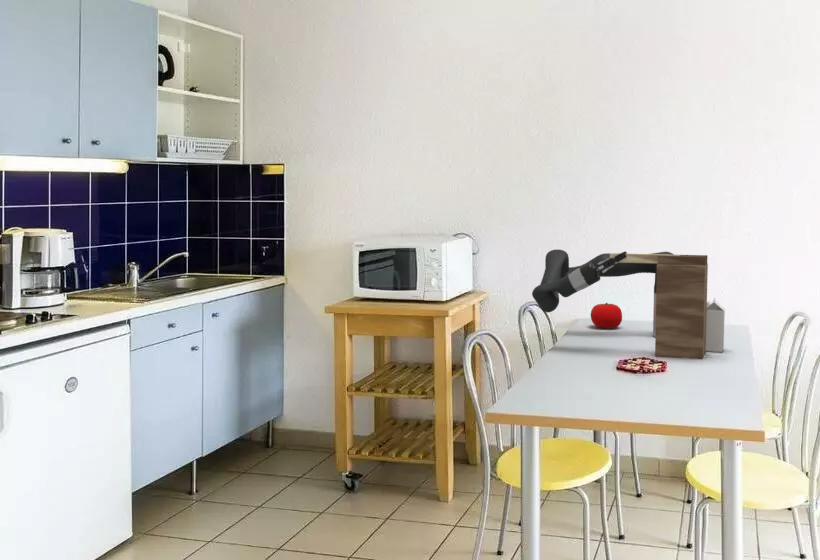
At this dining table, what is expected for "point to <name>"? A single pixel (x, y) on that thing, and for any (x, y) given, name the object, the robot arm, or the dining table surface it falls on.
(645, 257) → the wooden block
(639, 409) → the dining table surface
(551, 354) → the dining table surface
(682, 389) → the dining table surface
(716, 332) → the milk carton
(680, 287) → the pedestal
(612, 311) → the tomato
